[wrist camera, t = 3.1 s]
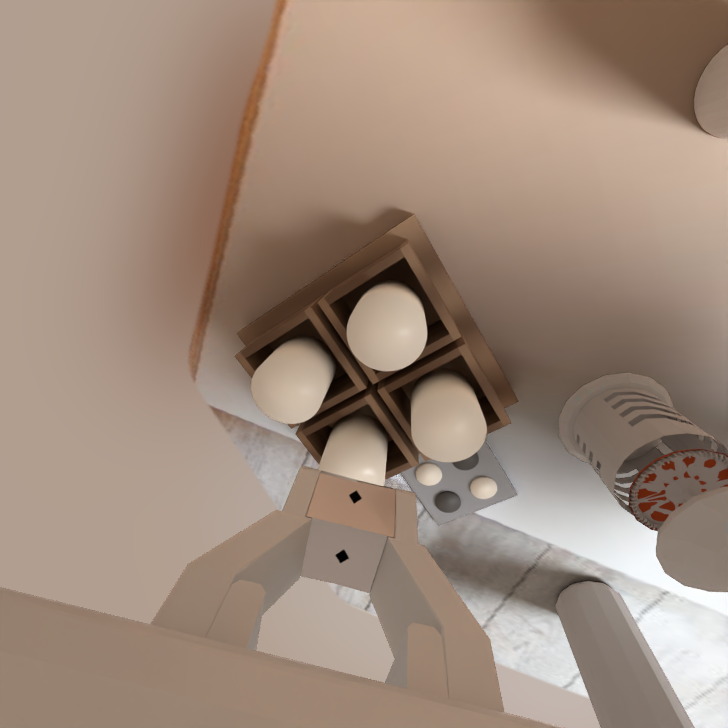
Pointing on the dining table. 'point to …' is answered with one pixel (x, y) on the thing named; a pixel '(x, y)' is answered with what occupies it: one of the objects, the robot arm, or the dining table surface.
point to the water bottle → (617, 661)
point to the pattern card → (459, 485)
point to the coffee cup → (713, 96)
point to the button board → (369, 386)
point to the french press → (656, 471)
